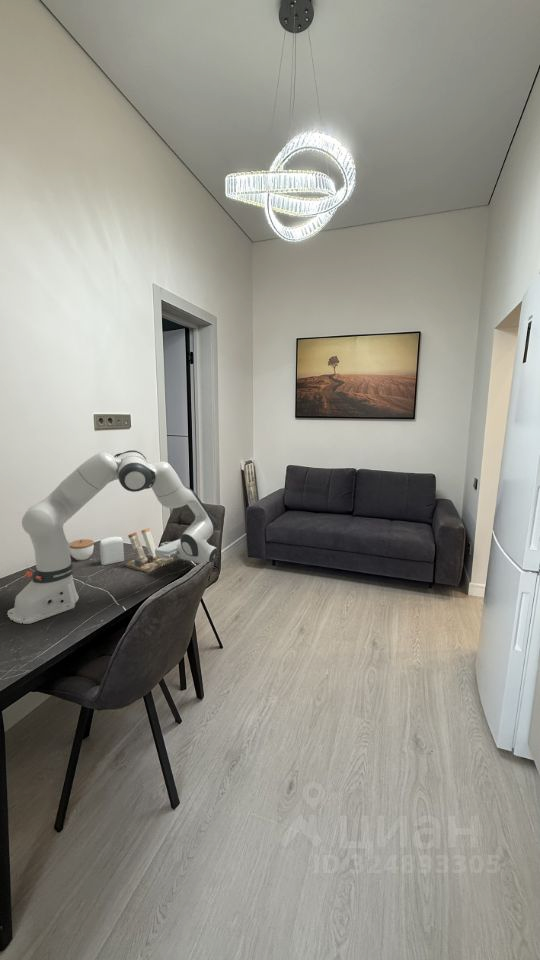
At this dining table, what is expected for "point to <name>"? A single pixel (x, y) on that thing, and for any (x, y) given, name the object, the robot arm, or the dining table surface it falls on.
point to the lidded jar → (81, 549)
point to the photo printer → (111, 550)
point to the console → (144, 557)
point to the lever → (149, 542)
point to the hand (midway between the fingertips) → (162, 544)
